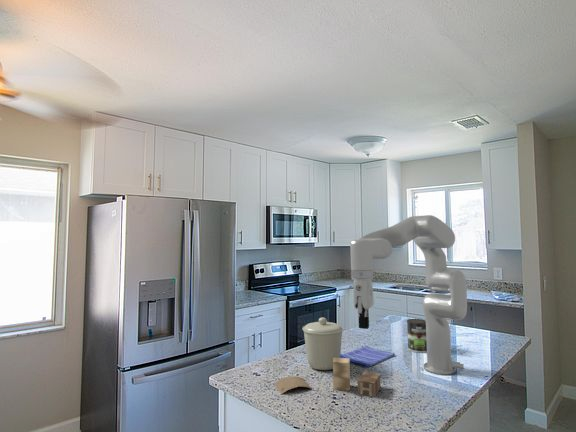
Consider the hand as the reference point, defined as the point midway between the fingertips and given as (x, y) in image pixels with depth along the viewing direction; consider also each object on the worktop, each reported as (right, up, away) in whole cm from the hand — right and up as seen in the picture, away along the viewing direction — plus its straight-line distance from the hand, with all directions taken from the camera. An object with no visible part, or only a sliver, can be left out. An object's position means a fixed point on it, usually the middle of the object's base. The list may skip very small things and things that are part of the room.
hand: (363, 327), depth 125 cm
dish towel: (+10, -28, +44) cm, 53 cm away
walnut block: (+1, -23, +3) cm, 23 cm away
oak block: (-6, -26, +11) cm, 28 cm away
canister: (-11, -27, +33) cm, 44 cm away
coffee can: (+39, -28, +54) cm, 72 cm away
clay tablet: (-24, -27, +12) cm, 38 cm away
